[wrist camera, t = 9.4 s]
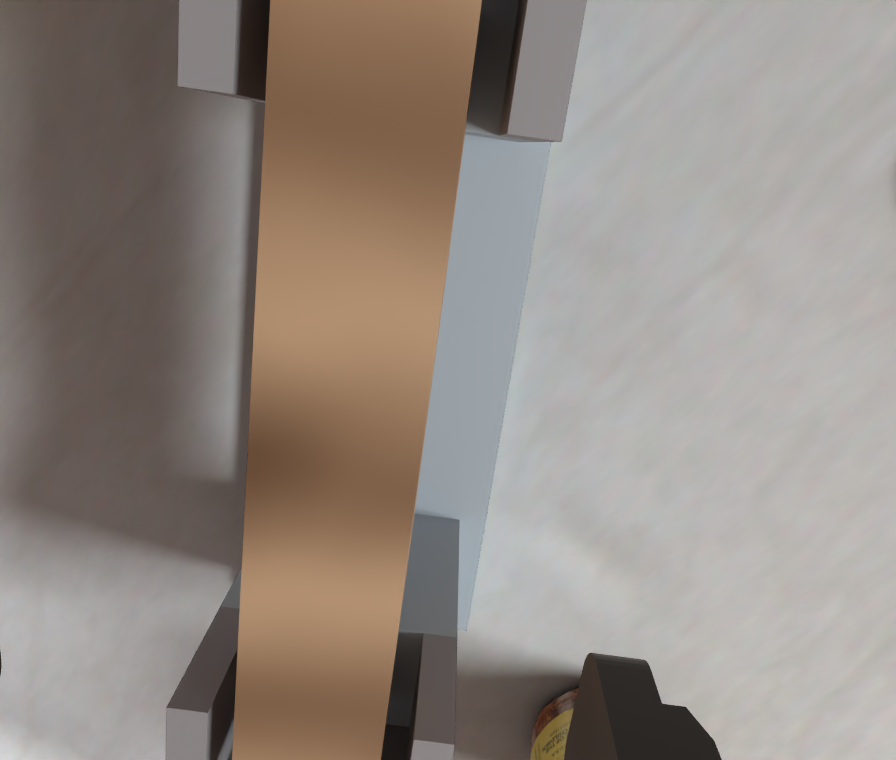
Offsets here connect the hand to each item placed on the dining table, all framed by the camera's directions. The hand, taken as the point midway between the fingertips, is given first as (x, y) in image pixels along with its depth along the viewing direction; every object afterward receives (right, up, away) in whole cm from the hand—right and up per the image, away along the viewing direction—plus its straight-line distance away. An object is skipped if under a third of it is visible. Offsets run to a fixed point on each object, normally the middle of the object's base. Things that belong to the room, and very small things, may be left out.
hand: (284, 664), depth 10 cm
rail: (0, +3, +9) cm, 10 cm away
